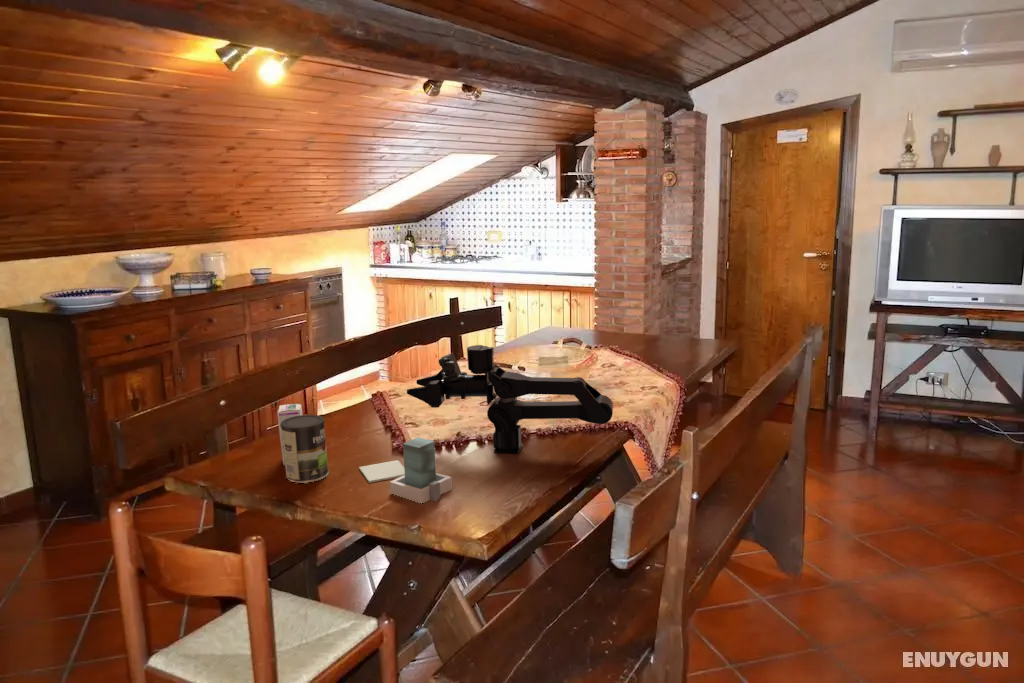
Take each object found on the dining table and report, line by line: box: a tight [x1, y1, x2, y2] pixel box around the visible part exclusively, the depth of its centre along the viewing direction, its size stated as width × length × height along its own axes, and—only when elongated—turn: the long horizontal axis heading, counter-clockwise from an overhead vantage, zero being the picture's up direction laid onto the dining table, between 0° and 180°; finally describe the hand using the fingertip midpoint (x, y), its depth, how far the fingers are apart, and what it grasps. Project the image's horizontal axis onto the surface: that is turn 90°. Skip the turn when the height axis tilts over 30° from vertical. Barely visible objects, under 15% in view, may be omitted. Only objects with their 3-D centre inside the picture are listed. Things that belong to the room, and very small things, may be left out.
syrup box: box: [277, 403, 303, 466], centre depth 202 cm, size 6×6×14 cm
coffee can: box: [280, 414, 330, 484], centre depth 192 cm, size 10×10×14 cm
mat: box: [358, 459, 405, 484], centre depth 194 cm, size 10×10×1 cm
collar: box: [389, 472, 453, 505], centre depth 181 cm, size 10×11×4 cm
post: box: [402, 437, 437, 489], centre depth 181 cm, size 5×5×12 cm
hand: (411, 386), depth 208 cm, fingers open, 9 cm apart
